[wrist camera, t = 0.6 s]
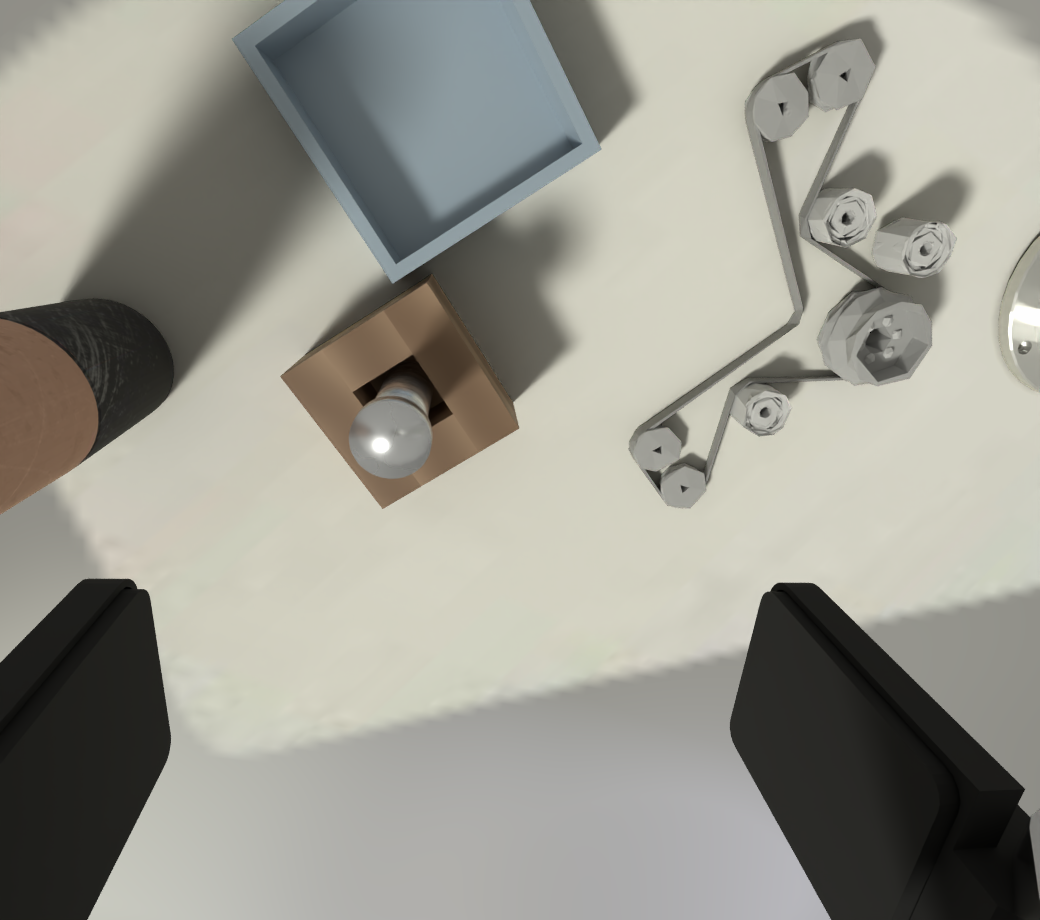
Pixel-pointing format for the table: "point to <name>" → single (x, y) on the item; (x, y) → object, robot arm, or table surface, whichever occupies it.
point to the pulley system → (822, 219)
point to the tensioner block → (444, 358)
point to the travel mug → (72, 387)
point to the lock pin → (395, 424)
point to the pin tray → (420, 112)
